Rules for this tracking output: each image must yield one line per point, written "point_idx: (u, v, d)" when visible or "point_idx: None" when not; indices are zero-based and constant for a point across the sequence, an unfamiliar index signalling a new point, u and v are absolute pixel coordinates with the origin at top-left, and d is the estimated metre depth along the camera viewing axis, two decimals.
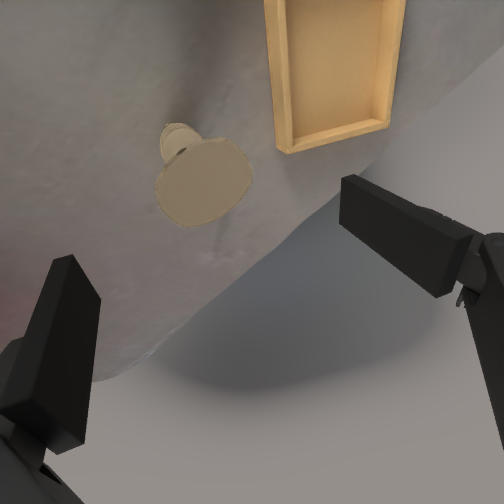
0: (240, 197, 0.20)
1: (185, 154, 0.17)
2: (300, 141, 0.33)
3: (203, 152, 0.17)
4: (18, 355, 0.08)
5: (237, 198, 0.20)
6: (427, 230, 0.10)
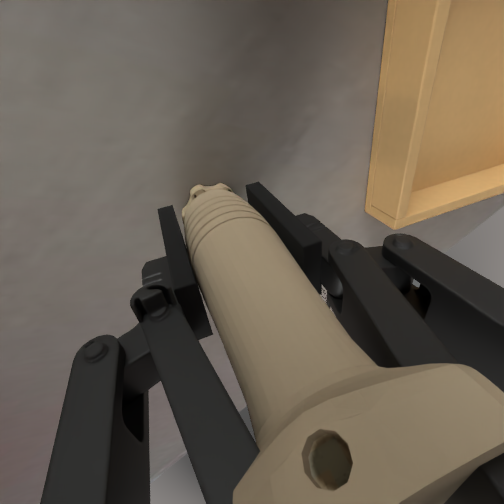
0: None
1: None
2: (412, 206, 0.20)
3: (431, 488, 0.04)
4: (169, 262, 0.11)
5: None
6: (290, 237, 0.11)
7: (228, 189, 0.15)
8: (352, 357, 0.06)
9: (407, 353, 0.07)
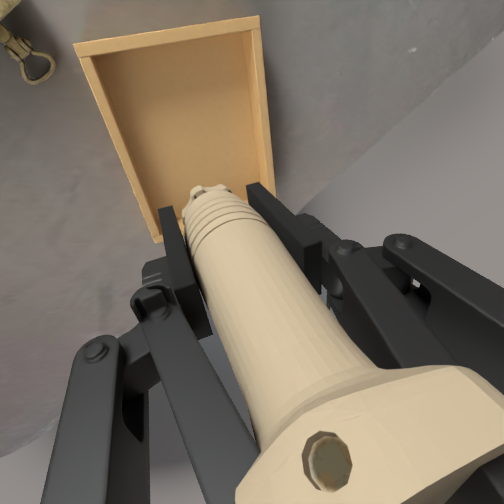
0: None
1: None
2: None
3: (430, 490, 0.04)
4: (169, 262, 0.11)
5: None
6: (290, 237, 0.11)
7: (228, 190, 0.15)
8: (352, 359, 0.07)
9: (407, 353, 0.07)
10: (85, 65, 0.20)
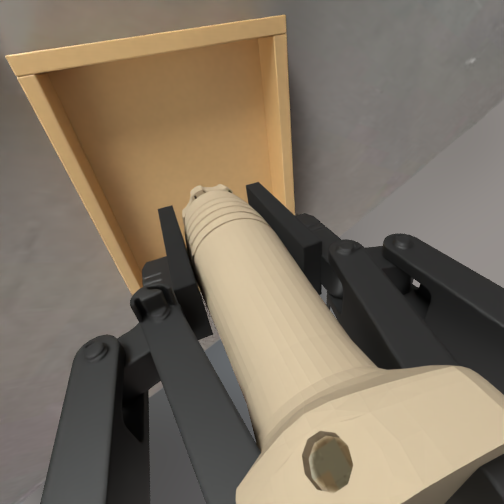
0: None
1: None
2: None
3: (431, 490, 0.04)
4: (169, 262, 0.11)
5: None
6: (290, 237, 0.11)
7: (228, 190, 0.15)
8: (352, 359, 0.07)
9: (407, 353, 0.07)
10: (28, 87, 0.13)
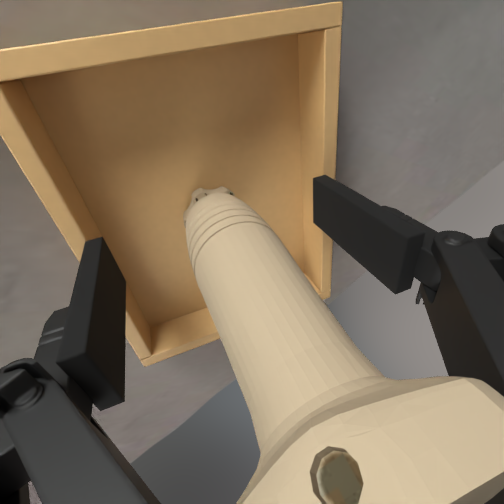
0: None
1: None
2: (171, 337, 0.19)
3: None
4: (67, 319, 0.09)
5: None
6: (384, 228, 0.11)
7: (230, 192, 0.15)
8: (359, 368, 0.06)
9: (501, 345, 0.07)
10: None
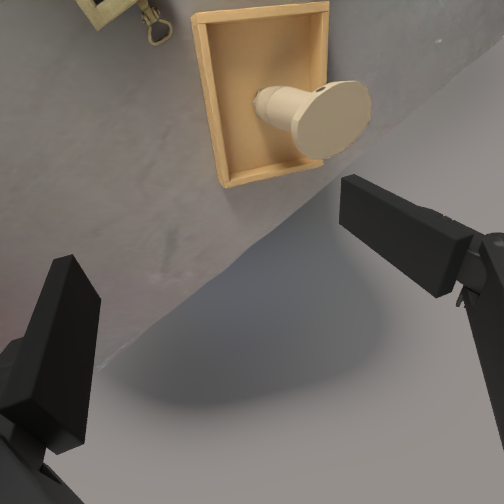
0: (356, 136, 0.23)
1: (328, 90, 0.20)
2: (238, 176, 0.36)
3: (340, 90, 0.21)
4: (18, 355, 0.08)
5: (354, 137, 0.23)
6: (427, 230, 0.10)
7: None
8: None
9: None
10: (201, 30, 0.26)
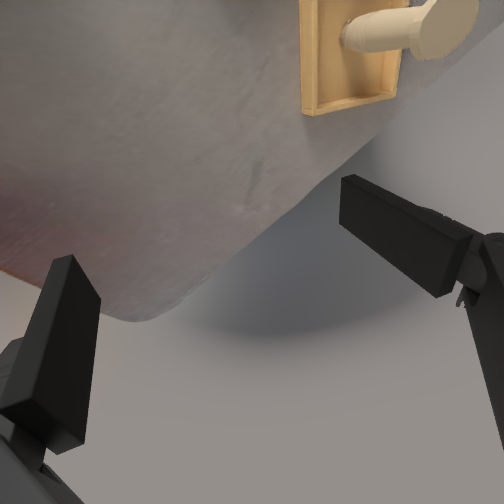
0: (462, 39, 0.27)
1: None
2: (322, 106, 0.40)
3: None
4: (18, 355, 0.08)
5: (460, 40, 0.27)
6: (427, 230, 0.10)
7: None
8: None
9: None
10: None
